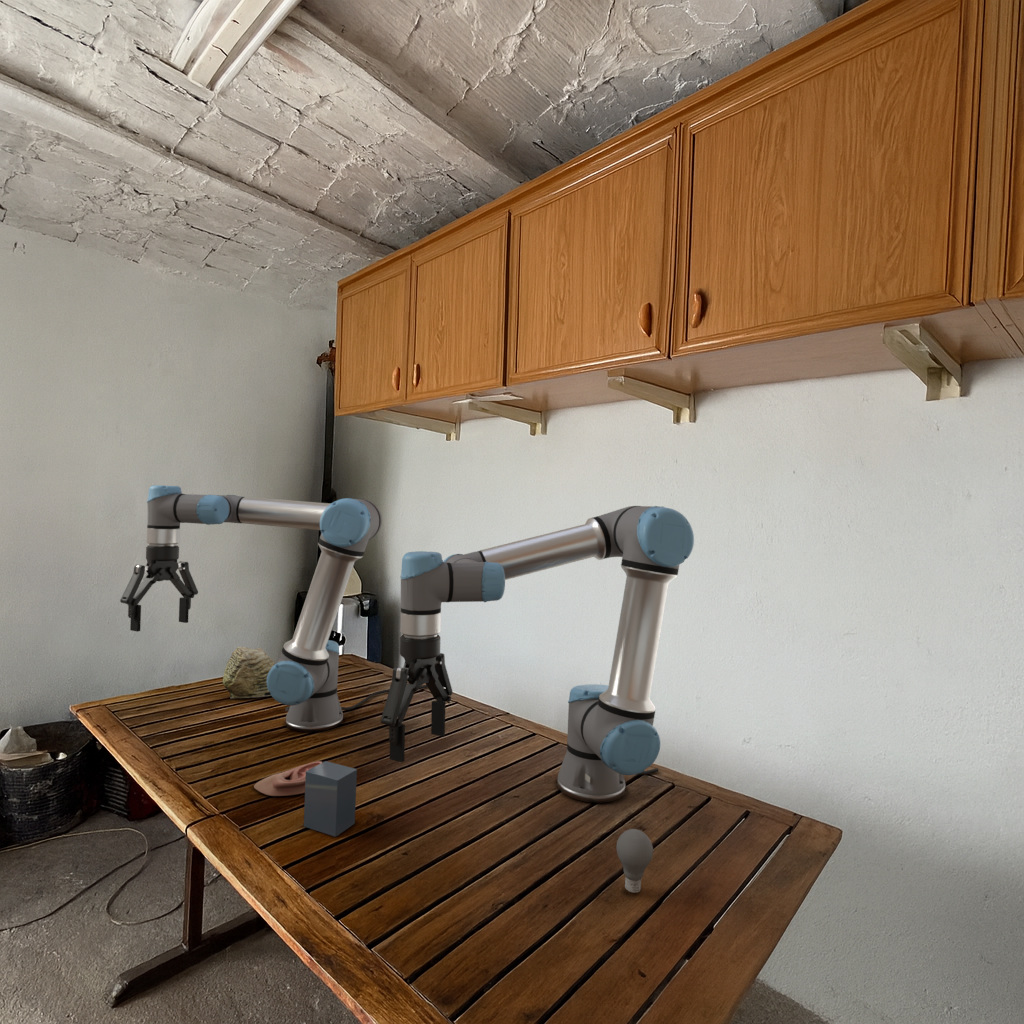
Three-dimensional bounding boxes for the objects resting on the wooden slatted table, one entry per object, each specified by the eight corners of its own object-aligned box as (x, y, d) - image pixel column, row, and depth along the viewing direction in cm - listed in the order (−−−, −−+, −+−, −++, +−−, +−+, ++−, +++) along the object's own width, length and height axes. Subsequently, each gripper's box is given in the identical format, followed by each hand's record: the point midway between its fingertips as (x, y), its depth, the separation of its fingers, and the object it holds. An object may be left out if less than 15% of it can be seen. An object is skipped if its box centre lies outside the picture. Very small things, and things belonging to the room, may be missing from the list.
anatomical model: (246, 773, 134) (276, 753, 145) (245, 792, 134) (276, 770, 145) (303, 782, 131) (330, 760, 142) (302, 801, 131) (329, 777, 142)
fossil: (218, 695, 195) (220, 647, 195) (278, 685, 208) (279, 640, 207) (228, 703, 189) (230, 653, 188) (289, 692, 201) (290, 645, 201)
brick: (323, 813, 127) (325, 760, 127) (355, 823, 124) (357, 769, 123) (303, 826, 122) (305, 771, 121) (335, 837, 118) (337, 780, 118)
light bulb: (610, 879, 108) (613, 822, 108) (644, 879, 109) (647, 822, 109) (619, 902, 102) (622, 840, 102) (655, 901, 103) (658, 840, 103)
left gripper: (194, 541, 177) (192, 617, 178) (105, 546, 154) (102, 632, 155) (213, 543, 174) (211, 620, 174) (125, 548, 151) (123, 636, 152)
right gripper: (439, 621, 131) (437, 722, 132) (361, 645, 109) (359, 767, 109) (470, 624, 128) (468, 728, 129) (397, 651, 106) (395, 776, 106)
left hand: (160, 626), depth 165 cm, fingers open, 13 cm apart
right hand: (418, 747), depth 119 cm, fingers open, 13 cm apart
